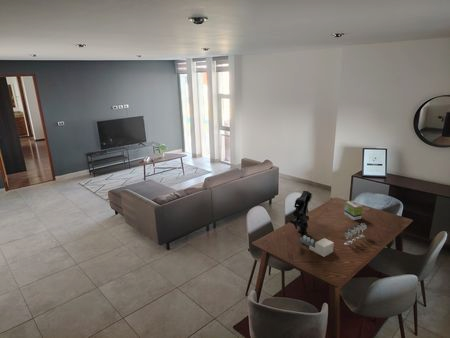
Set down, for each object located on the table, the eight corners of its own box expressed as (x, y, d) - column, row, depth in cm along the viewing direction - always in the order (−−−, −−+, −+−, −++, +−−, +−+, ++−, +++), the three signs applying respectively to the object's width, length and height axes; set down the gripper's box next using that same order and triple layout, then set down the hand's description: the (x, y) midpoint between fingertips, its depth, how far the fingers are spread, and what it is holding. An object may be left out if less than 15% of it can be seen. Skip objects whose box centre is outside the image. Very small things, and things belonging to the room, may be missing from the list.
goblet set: (347, 246, 266) (349, 232, 262) (342, 243, 271) (343, 229, 267) (366, 236, 281) (368, 223, 277) (361, 233, 285) (362, 220, 282)
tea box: (343, 214, 325) (345, 201, 321) (351, 213, 328) (353, 200, 323) (353, 220, 311) (354, 207, 307) (361, 218, 314) (363, 205, 310)
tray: (299, 241, 275) (300, 235, 274) (304, 239, 279) (304, 233, 277) (312, 248, 264) (312, 242, 263) (316, 245, 268) (317, 240, 266)
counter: (309, 248, 263) (309, 239, 261) (318, 244, 270) (318, 235, 267) (323, 256, 251) (324, 247, 249) (332, 251, 258) (333, 242, 255)
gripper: (299, 218, 261) (298, 234, 266) (313, 212, 271) (312, 228, 276) (289, 214, 270) (289, 229, 274) (303, 208, 280) (303, 223, 285)
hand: (298, 227), depth 277 cm, fingers open, 7 cm apart
